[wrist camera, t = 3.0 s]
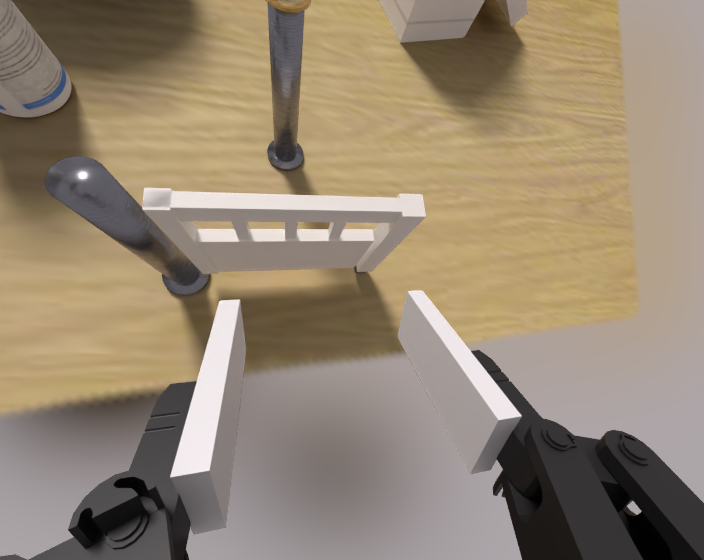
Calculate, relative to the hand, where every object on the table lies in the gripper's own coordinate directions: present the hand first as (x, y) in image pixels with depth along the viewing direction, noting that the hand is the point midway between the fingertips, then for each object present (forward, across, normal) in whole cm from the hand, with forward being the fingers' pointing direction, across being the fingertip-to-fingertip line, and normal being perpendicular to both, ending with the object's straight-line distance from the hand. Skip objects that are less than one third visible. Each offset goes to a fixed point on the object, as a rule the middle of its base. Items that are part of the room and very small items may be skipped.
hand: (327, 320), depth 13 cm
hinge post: (+24, -13, -11) cm, 29 cm away
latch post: (+36, -1, +2) cm, 37 cm away
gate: (+24, 0, -10) cm, 26 cm away
